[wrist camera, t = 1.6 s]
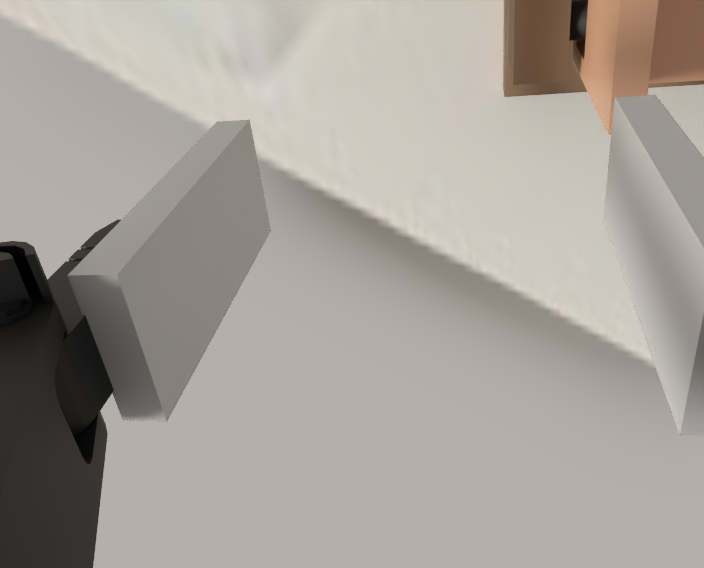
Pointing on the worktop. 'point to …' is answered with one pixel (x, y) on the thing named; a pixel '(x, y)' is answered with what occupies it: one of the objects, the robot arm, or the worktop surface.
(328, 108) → the worktop surface
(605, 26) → the tan wooden l-shaped block
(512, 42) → the brown rod stand
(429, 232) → the worktop surface
